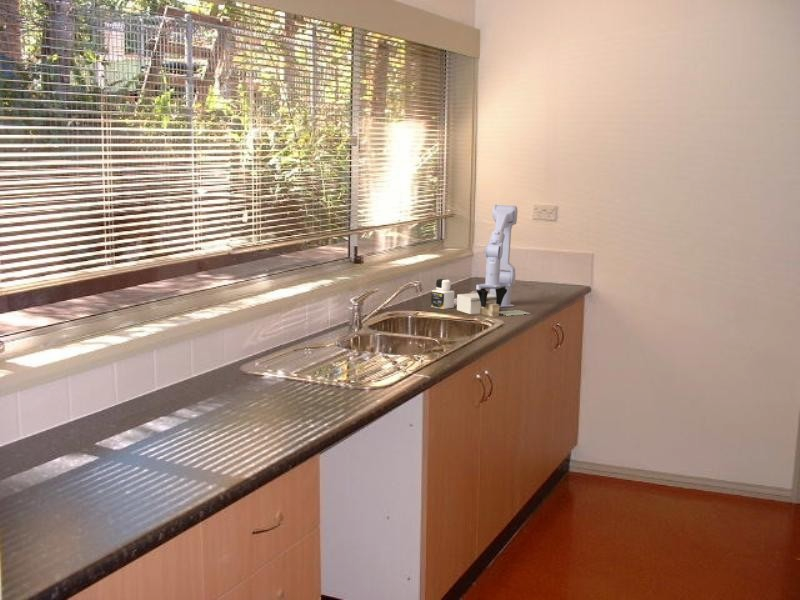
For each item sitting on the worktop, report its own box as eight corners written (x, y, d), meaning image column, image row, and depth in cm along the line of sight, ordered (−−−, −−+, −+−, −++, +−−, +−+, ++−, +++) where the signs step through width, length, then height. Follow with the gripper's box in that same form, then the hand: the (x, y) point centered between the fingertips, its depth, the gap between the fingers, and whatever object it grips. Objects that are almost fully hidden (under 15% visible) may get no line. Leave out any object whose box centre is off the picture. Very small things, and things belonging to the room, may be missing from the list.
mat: (495, 312, 395) (495, 311, 395) (518, 310, 401) (518, 309, 401) (507, 316, 389) (507, 315, 388) (530, 314, 395) (530, 313, 395)
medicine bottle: (430, 306, 404) (431, 279, 402) (441, 305, 409) (442, 277, 407) (443, 309, 399) (444, 281, 397) (454, 307, 404) (455, 279, 402)
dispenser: (456, 310, 398) (457, 294, 397) (483, 308, 406) (484, 292, 404) (470, 314, 390) (471, 298, 389) (498, 312, 397) (499, 296, 396)
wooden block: (478, 312, 395) (479, 301, 394) (484, 312, 396) (485, 300, 395) (492, 317, 386) (492, 305, 385) (498, 316, 388) (499, 304, 387)
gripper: (484, 275, 380) (482, 308, 382) (512, 274, 387) (511, 306, 389) (473, 273, 386) (472, 306, 388) (502, 271, 393) (500, 304, 395)
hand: (491, 306), depth 389 cm, fingers open, 7 cm apart
